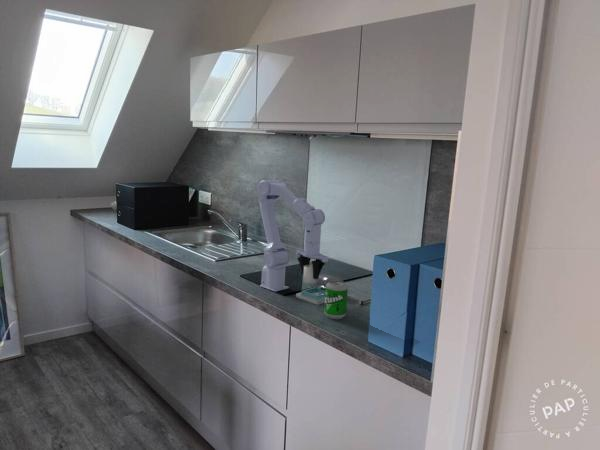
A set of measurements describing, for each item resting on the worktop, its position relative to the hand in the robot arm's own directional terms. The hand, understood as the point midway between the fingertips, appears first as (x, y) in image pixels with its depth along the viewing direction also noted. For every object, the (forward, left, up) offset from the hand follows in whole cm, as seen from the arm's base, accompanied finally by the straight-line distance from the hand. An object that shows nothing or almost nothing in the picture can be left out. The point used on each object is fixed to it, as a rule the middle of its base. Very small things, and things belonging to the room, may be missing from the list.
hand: (310, 277), depth 173 cm
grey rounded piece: (0, 0, -2) cm, 2 cm away
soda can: (+18, -6, -9) cm, 21 cm away
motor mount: (+1, +7, -9) cm, 11 cm away
